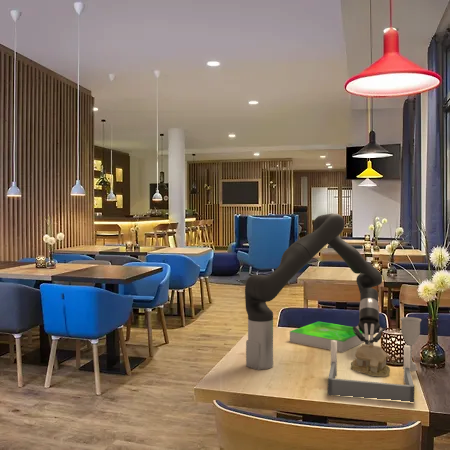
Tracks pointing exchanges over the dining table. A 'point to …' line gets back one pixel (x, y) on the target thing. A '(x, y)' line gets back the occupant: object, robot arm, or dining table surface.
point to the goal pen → (371, 388)
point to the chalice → (410, 335)
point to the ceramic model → (371, 361)
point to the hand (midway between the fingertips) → (369, 350)
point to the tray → (326, 336)
